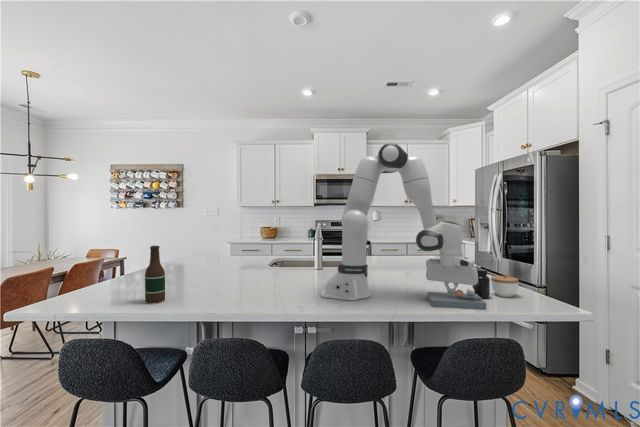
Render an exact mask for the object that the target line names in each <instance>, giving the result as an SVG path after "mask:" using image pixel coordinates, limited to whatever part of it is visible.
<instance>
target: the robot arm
mask: <svg viewBox="0 0 640 427" xmlns="http://www.w3.org/2000/svg"><path fill="white" fill-rule="evenodd" d="M396 172H397V173H399V175H400V178H401V180H402V186H403V189H404V193H405V195H406V198H407V199H408V200H409V201H410V202H411V203H412V204H413V205H415V207H416V208H417V210H418V211H419V215H420V219H421V220H420V221H421V223H422V226H423V229H422V230H420V231H419V232H418V233H417V235H416V237H415V243H416V245H417V247H418V248H419V249H420V250H421V251H424V252H433V251H437V250H438V251H439V258H429V259H427V260H426V262H425V267H426V271H425V272H426V273H425V278H426V280H427V281H432V282H440V283H444V286H445V289H446V293H451V294H455V292H456V290H457V287H458V286H459V284H460V285H468V286H473V285H476V284H477V283H478V273H477V269H478V268H477V267H476V266H475V265H476V261H475V259H472V258H470V257H466V256H465V255H464V256H463V251H462V245H463V233H462V231H463V230H462V227H461V225H460V223H458V222H456V221H450V220H442V221H440V222H439V223H438V220H437V216H436V213H435V208H434V205H433V201H432V200H433V199H432V198H433V197H432V190H431V189H432V188H431V184H430V178H429V174H428V171H427V168H426V165H425V163H424V162H423V159H422V158H421V157H420V156H414V155H413V156H409V155H408V153H407V152H406V151H405V150H404V149H403V148H402V147H401V146H400V145H398V144H397V143H394V142H387V143H385V144H383V145H382V146H381V147H380V149H379V151H378V154H377V155H376V156H369V155H368V156H364V157H362V158H361V160H360V161H359V164H358V165H357V167H356V170H355V172H354V176H353V179H352V183H351V185H350V186H351V187H350V189H349V193H348V196H347V200H346V202H345V205H344V210H343V213H342V215H341V219H340V220H341V228H342V233H341V234H342V235H341V236H342V238H341V239H342V240H341V241H342V242H341V262H340V263H338V264H337V272H336V273H335V274H333V275H332V276H331V277H330V278H329V279H327V281H326V284H325V289H323V290H321V291H320V297H321V298H325V299H335V300H343V301H356V300H362V299H363V300H364V299H367V298H369V297H371V292H370V289H369V283H368V282H369V281H368V275H369V268H368V267H369V266H368V264H367V243H368V241H367V240H368V226H369V225H368V224H369V223H368V220H369V219H368V214H369V211H370V208H371V207H372V206H371V205H372V203H373V200H374V198H375V193H376V191H377V186H378V183H379V179H380V177H381V175H382V174H391V173H392V174H393V173H396ZM450 283H451V284H453V286H454V287H453V288H450V286H449V284H450Z"/></svg>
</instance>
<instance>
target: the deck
mask: <svg viewBox="0 0 640 427" xmlns="http://www.w3.org/2000/svg"><path fill="white" fill-rule="evenodd" d="M463 293H464V292H463ZM427 299H428V301H429V304H430V305H431V307H432V308H450V309H466V310H467V309H470V310H473V309H474V310H487V302H486V301H485V299H482V298H480V297H479V296H478V295H477V294H473V295H469V294H467V292H466V293H464V295H463V297H461V298H459V297H457V296H456V295H455V294H451V293H447V292H438V291H427Z"/></svg>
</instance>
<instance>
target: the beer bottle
mask: <svg viewBox="0 0 640 427" xmlns="http://www.w3.org/2000/svg"><path fill="white" fill-rule="evenodd" d="M149 249H150V256H149V265H148V266H147V268H146V270H145V273H144V300H145V303H146V302H147V303H156V304H160V303H159V302H161V303H163V302H165V301H166V272H165V269H164V267H163V266H162V264H161V260H160V246H159V245H150V246H149ZM164 300H165V301H164ZM162 301H163V302H162ZM147 303H146V304H147Z"/></svg>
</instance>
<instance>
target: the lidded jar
mask: <svg viewBox="0 0 640 427" xmlns="http://www.w3.org/2000/svg"><path fill="white" fill-rule="evenodd" d="M519 282H520V281H519V279H518V278H517V277H513V276H508V275H506V274H504V273H503V274H502V275H493V276H491V277H490V283H491V284H490V285H491V288H492V290H493V292H494V293H495V294H496V296H498V297H503V298H512V297H513V296H514V295H515V294H516V293H517V292H518V289H519Z"/></svg>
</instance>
